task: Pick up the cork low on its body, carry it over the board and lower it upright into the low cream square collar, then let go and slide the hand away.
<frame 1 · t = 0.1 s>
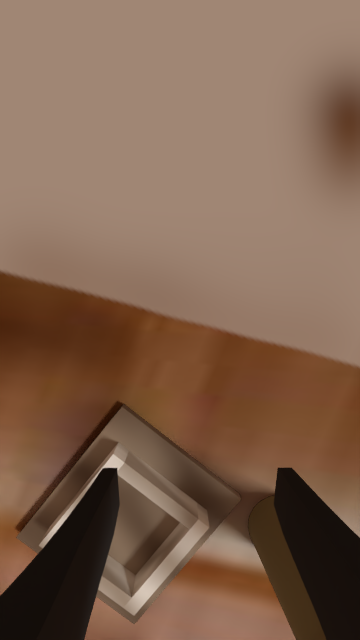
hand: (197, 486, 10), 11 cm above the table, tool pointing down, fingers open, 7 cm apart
collar board: (129, 512, 21), on the table
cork: (278, 522, 21), on the table
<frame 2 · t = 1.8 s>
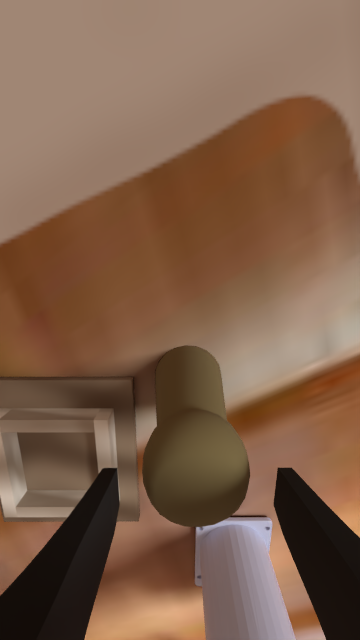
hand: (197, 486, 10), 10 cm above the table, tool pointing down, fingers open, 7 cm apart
collar board: (66, 451, 21), on the table
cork: (187, 375, 20), on the table
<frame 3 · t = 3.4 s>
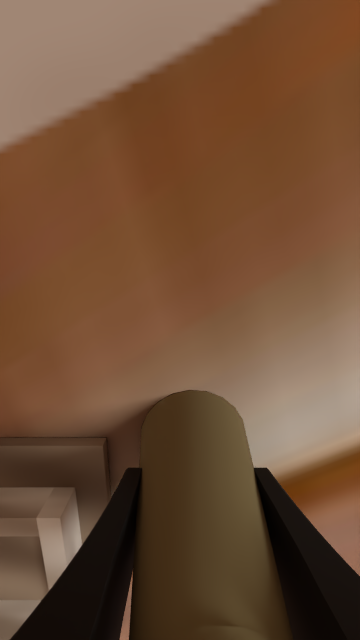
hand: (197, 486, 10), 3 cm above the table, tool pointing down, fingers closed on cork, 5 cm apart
collar board: (7, 543, 14), on the table
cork: (192, 435, 13), on the table, touching gripper
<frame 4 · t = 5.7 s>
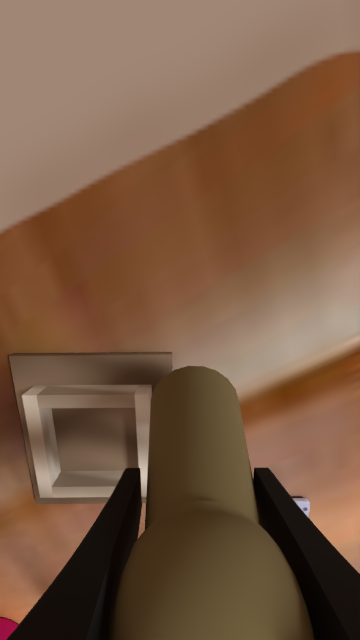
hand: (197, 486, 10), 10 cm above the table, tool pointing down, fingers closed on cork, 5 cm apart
collar board: (100, 431, 21), on the table
pepper mill: (1, 630, 27), on the table
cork: (194, 404, 15), point 5 cm above the table, touching gripper
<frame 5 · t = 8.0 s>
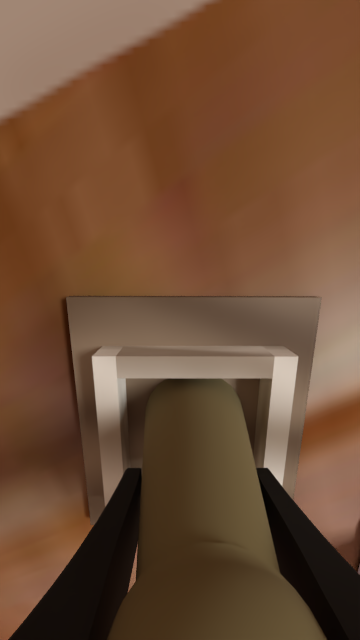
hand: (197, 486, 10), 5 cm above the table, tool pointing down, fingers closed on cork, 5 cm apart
collar board: (191, 418, 14), on the table
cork: (193, 414, 14), resting on collar board, touching gripper
when the fingers open (5 cm above the table, at t = 9.2 s): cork stays where it is, resting on collar board.
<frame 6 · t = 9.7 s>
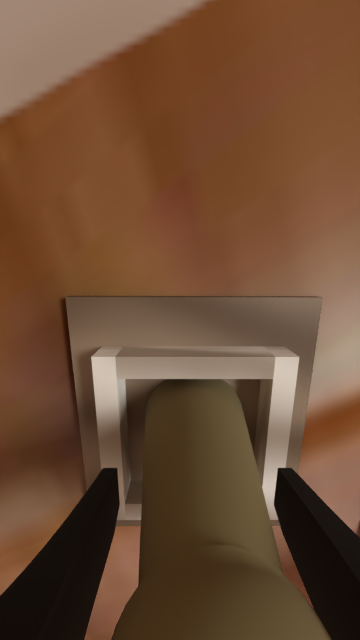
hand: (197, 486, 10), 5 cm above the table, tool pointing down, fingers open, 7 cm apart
collar board: (191, 419, 14), on the table
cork: (193, 414, 14), resting on collar board
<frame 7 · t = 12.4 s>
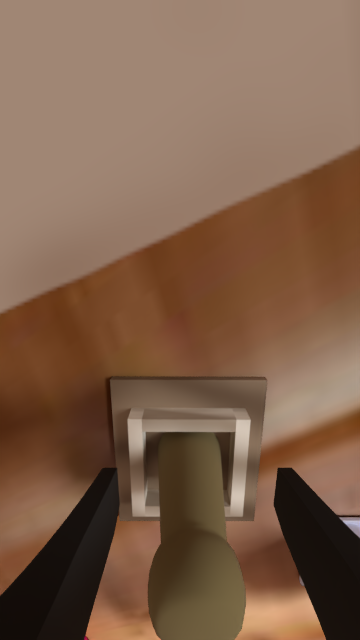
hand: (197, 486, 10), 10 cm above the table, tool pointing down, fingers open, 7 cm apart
collar board: (187, 451, 22), on the table
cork: (188, 448, 21), resting on collar board
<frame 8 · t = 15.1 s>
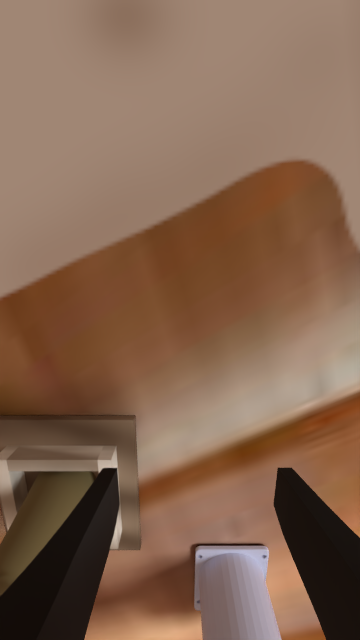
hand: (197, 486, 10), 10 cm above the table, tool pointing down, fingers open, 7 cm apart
collar board: (70, 484, 22), on the table
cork: (68, 482, 22), resting on collar board
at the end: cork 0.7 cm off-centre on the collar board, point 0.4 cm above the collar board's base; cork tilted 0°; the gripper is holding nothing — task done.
